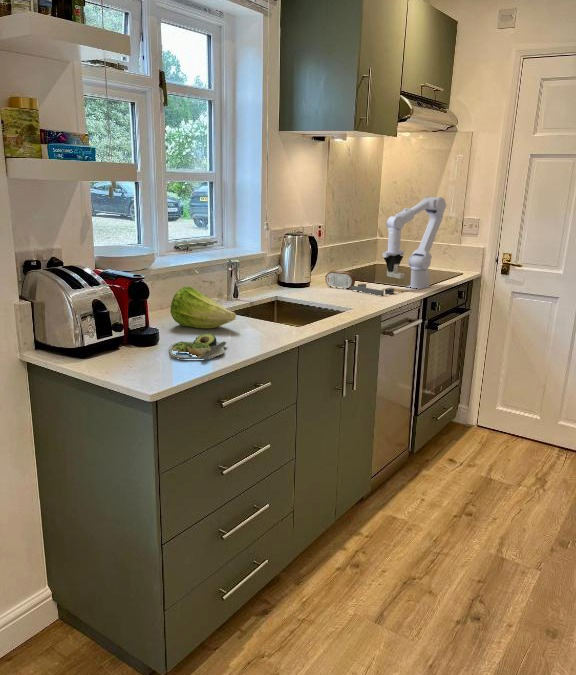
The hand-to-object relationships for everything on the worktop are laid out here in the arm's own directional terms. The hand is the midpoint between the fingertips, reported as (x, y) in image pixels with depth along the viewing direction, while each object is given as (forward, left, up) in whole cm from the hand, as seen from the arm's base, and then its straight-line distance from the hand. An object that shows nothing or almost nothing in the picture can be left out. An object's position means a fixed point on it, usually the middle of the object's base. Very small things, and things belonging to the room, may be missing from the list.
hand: (392, 271), depth 274 cm
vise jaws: (+10, -4, -9) cm, 14 cm away
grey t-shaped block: (0, +2, -3) cm, 3 cm away
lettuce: (+108, -4, -10) cm, 108 cm away
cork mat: (-1, +1, -9) cm, 9 cm away
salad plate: (+128, +18, -10) cm, 129 cm away
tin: (+14, -21, -10) cm, 27 cm away
